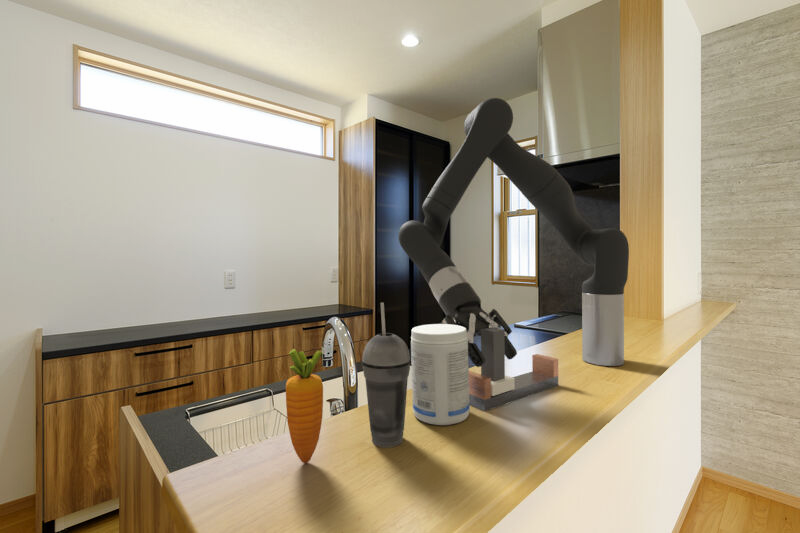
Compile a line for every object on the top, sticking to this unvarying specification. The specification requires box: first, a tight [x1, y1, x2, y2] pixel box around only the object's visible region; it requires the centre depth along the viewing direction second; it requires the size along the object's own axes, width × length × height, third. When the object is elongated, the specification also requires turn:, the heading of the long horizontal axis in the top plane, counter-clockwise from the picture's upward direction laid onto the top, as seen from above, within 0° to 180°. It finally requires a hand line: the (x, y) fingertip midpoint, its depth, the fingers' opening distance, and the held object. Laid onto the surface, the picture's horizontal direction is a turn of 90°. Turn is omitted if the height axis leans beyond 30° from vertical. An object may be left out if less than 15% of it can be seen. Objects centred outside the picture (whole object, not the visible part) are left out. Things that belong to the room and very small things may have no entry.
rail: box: [469, 353, 559, 412], centre depth 72 cm, size 22×5×6 cm, turn 125°
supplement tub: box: [410, 323, 471, 426], centre depth 63 cm, size 10×10×15 cm
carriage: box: [480, 326, 515, 396], centre depth 69 cm, size 6×5×11 cm
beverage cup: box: [360, 302, 412, 449], centre depth 54 cm, size 7×7×20 cm
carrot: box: [285, 348, 324, 464], centre depth 48 cm, size 5×5×15 cm
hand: (498, 360), depth 68 cm, fingers open, 8 cm apart
